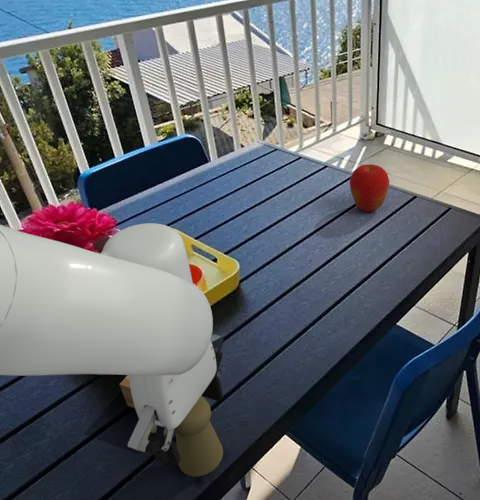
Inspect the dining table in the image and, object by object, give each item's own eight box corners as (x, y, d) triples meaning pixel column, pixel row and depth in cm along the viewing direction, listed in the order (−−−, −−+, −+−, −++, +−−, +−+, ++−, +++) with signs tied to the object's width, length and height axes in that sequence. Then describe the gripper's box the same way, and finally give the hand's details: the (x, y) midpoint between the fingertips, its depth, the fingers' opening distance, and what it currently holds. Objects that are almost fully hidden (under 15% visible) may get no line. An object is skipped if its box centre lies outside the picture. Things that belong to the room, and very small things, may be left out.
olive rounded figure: (217, 429, 72) (206, 380, 65) (228, 465, 67) (217, 416, 61) (174, 445, 69) (158, 396, 63) (182, 483, 65) (166, 434, 59)
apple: (388, 201, 124) (392, 157, 117) (385, 220, 117) (388, 174, 110) (351, 197, 125) (353, 153, 118) (346, 216, 118) (347, 170, 111)
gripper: (182, 276, 61) (203, 369, 72) (78, 382, 48) (121, 477, 58) (236, 290, 60) (250, 383, 70) (143, 404, 46) (176, 499, 56)
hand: (191, 426), depth 64 cm, fingers open, 9 cm apart
